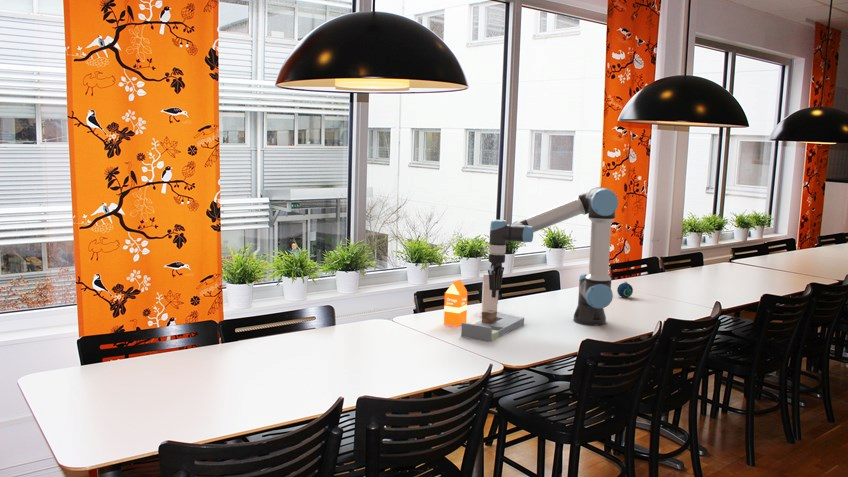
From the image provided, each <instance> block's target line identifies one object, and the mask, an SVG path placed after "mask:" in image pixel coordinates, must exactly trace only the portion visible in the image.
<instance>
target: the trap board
mask: <svg viewBox="0 0 848 477" xmlns="http://www.w3.org/2000/svg"><path fill="white" fill-rule="evenodd" d="M524 323H525V317H523V316H516V315H512V314H511V315H510V314H504V313H498V312H497V318H496V322H495V323H493V324H488V323H483V322H482V319H481V320H479V321H477V322H475V323H473V324H472V323H467V322H465V323H462V325H461V330H460V331H461V333H460V335H461V336H460V337H462V338H463V337H464V338H468V339H473V340H478V341H483V342H488V343H491V342H493V341H495V340H497V339H499V338H501V337H502V336H504V335H506V334H507V333H510V332H511V331H513V330H515V329H517V328H519V327H521V326H523V325H524Z"/></svg>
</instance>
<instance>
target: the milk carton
mask: <svg viewBox="0 0 848 477" xmlns="http://www.w3.org/2000/svg"><path fill="white" fill-rule="evenodd" d="M481 290H482V293H481V294H482V295H481V312H482V311H484V310H494V311H497V312H498V304H497V305H495V304H491V294H492V290H490V289H489V274H483V277H482V288H481Z"/></svg>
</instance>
